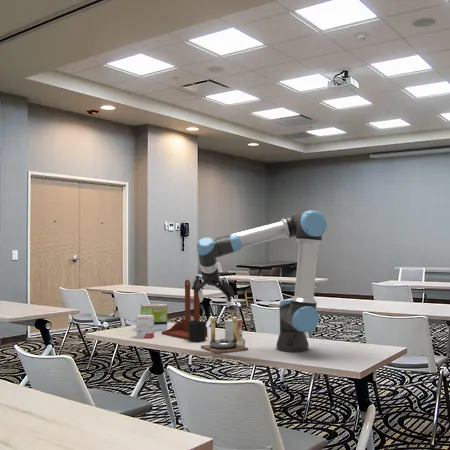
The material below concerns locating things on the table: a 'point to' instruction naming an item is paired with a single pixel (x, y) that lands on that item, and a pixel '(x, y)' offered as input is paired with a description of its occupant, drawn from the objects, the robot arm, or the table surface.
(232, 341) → the brass post metal stand
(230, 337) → the small box
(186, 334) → the dustpan and brush
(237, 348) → the stand
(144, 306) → the tea box
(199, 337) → the pen holder
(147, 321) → the ink box
